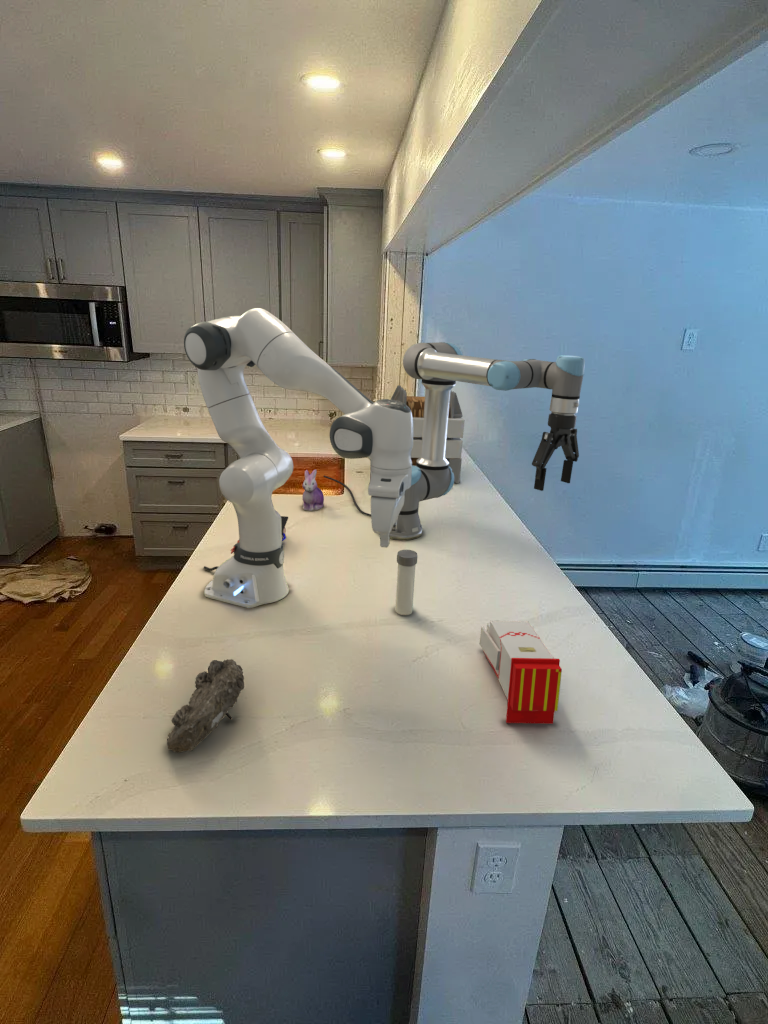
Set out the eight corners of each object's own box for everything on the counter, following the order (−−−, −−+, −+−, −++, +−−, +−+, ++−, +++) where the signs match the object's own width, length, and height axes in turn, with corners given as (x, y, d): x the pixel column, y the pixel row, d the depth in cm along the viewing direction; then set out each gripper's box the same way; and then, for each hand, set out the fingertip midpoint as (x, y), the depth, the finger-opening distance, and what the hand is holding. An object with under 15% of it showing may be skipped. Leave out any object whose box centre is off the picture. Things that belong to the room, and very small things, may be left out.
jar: (415, 609, 150) (419, 554, 145) (407, 617, 146) (411, 560, 141) (400, 605, 152) (403, 550, 147) (392, 612, 148) (395, 556, 143)
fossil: (192, 660, 117) (244, 628, 112) (224, 691, 120) (276, 661, 115) (142, 746, 98) (202, 712, 93) (182, 779, 101) (242, 748, 96)
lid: (420, 561, 145) (421, 552, 145) (411, 568, 141) (412, 559, 140) (402, 556, 148) (402, 547, 147) (393, 563, 143) (393, 554, 143)
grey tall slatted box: (382, 463, 289) (386, 382, 275) (445, 464, 293) (451, 384, 279) (390, 482, 257) (394, 392, 243) (460, 483, 261) (468, 394, 247)
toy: (526, 605, 135) (570, 665, 105) (521, 658, 137) (563, 730, 108) (475, 604, 134) (506, 664, 105) (472, 657, 137) (500, 729, 108)
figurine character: (283, 556, 181) (289, 533, 194) (282, 535, 178) (288, 514, 191) (262, 555, 181) (269, 533, 194) (260, 534, 177) (268, 513, 191)
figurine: (306, 512, 216) (305, 474, 210) (297, 504, 224) (296, 467, 219) (329, 509, 220) (329, 472, 215) (319, 501, 228) (319, 465, 223)
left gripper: (385, 464, 131) (383, 520, 135) (366, 490, 112) (364, 554, 116) (412, 466, 130) (409, 523, 134) (397, 492, 111) (395, 557, 115)
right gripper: (548, 419, 148) (537, 496, 155) (598, 411, 163) (586, 482, 171) (525, 414, 153) (515, 489, 160) (575, 407, 169) (564, 476, 176)
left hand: (388, 538), depth 125 cm, fingers open, 8 cm apart
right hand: (552, 485), depth 166 cm, fingers open, 13 cm apart
